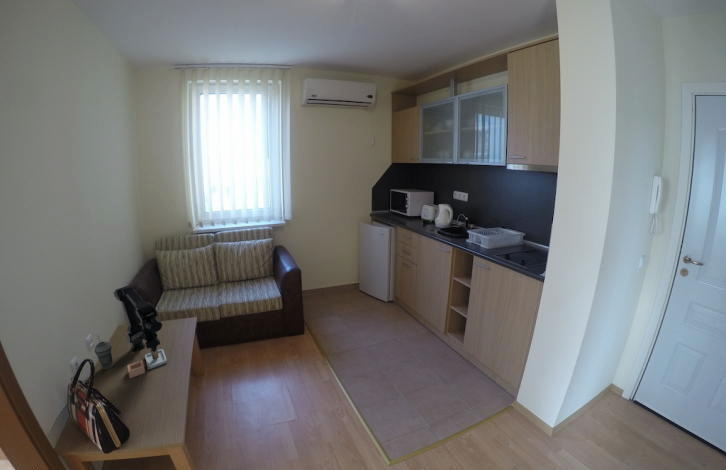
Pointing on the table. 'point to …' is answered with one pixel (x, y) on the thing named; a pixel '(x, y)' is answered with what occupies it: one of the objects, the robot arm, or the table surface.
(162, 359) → the tray
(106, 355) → the beverage cup
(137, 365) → the holder
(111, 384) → the table surface
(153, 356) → the dowel
